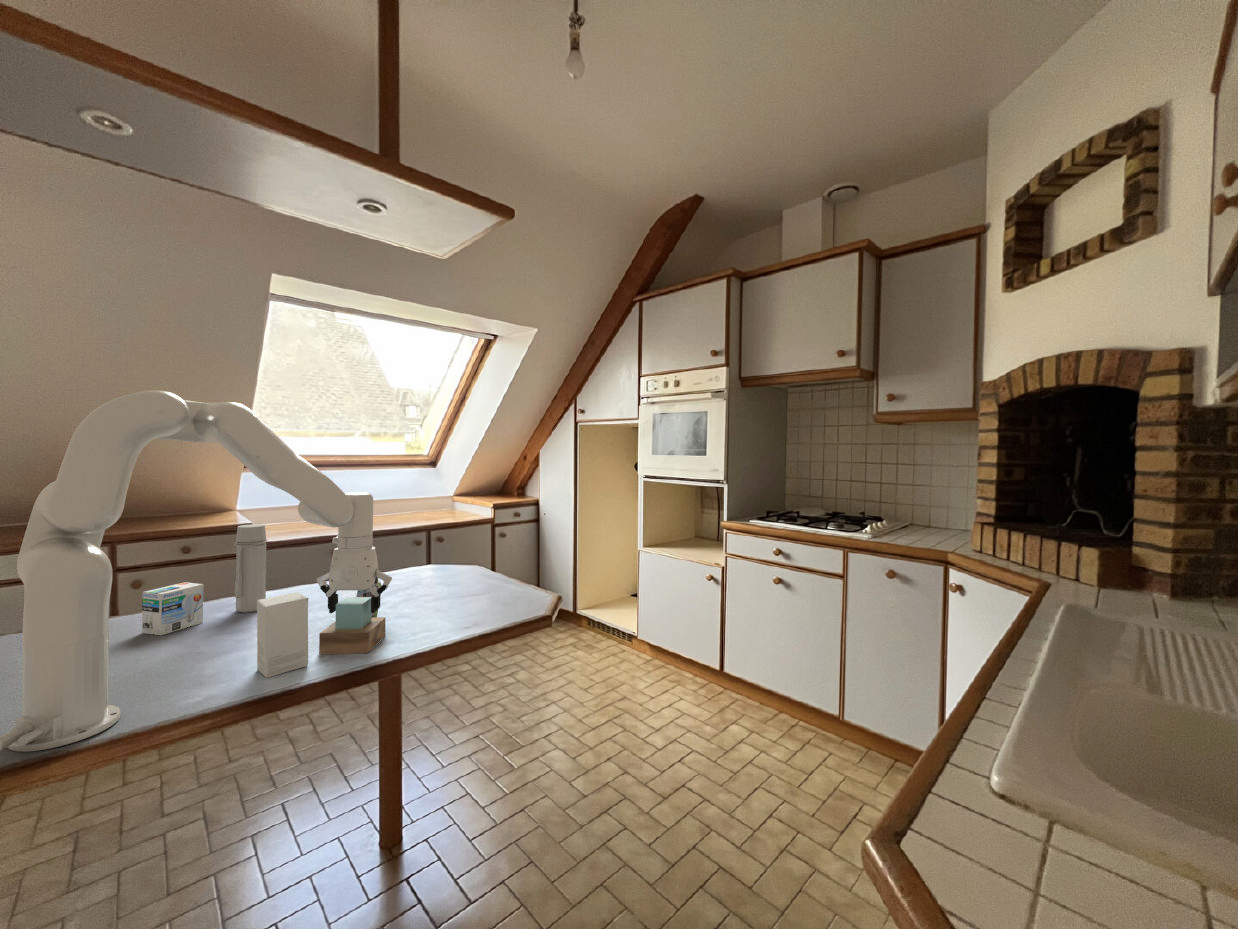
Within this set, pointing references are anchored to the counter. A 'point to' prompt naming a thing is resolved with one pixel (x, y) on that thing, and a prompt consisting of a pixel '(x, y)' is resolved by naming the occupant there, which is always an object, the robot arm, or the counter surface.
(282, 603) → the skincare box
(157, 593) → the light bulb box
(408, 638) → the counter surface
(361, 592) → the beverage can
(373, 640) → the walnut block
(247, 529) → the water bottle
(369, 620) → the teal cube
